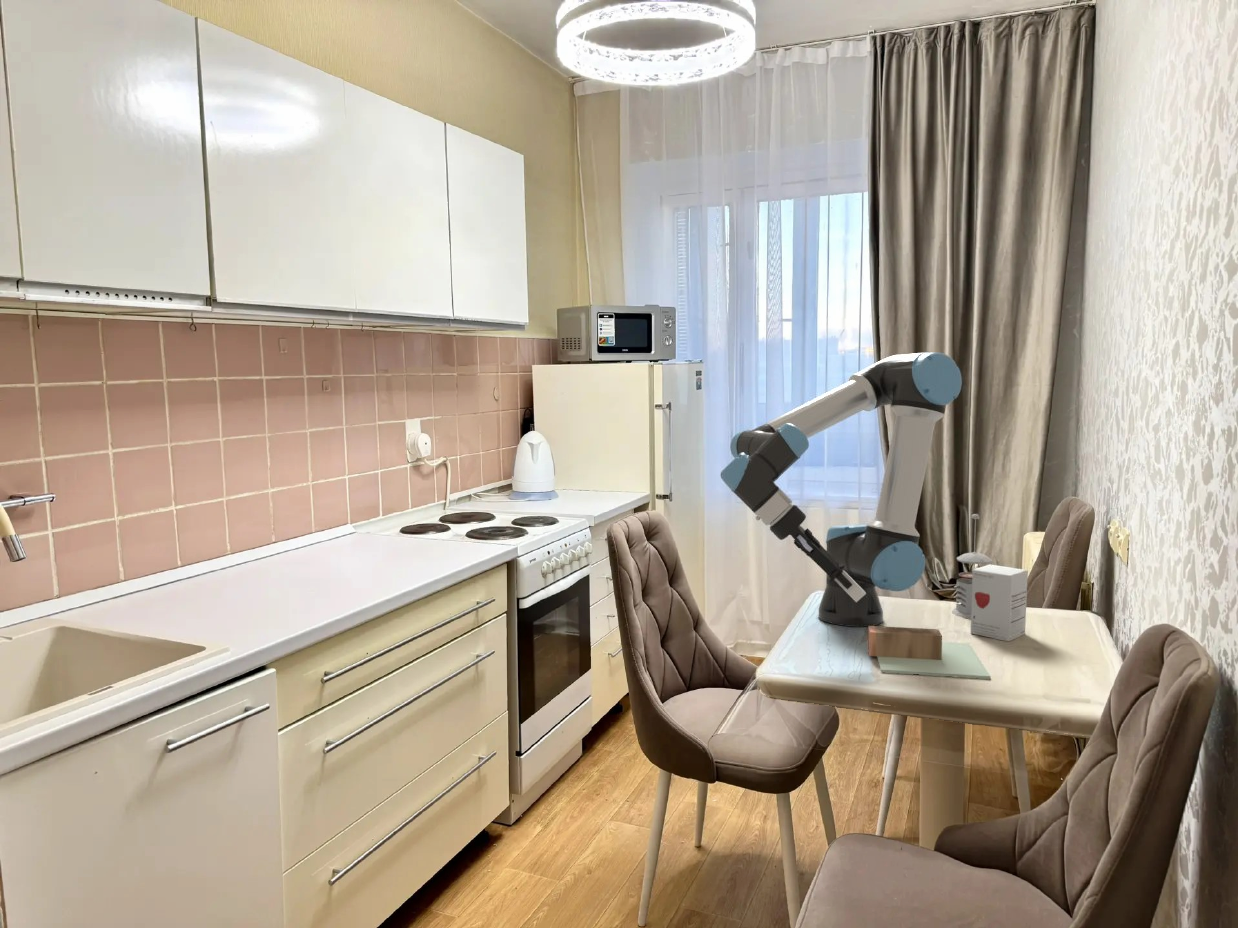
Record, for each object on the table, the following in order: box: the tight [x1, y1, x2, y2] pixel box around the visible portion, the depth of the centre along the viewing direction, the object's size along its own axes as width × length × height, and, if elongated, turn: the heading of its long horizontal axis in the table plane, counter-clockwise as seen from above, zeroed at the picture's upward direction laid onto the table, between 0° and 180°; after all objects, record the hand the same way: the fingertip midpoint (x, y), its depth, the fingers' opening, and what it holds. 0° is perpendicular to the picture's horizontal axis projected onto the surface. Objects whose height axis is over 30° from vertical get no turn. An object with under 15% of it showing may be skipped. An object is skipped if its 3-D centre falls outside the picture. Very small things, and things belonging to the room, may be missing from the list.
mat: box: [876, 641, 992, 680], centre depth 173 cm, size 22×20×1 cm
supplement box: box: [970, 563, 1029, 642], centre depth 190 cm, size 9×9×15 cm
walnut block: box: [867, 625, 943, 660], centre depth 174 cm, size 5×5×14 cm
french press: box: [951, 513, 993, 619], centre depth 206 cm, size 10×12×25 cm
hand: (860, 597), depth 175 cm, fingers closed
